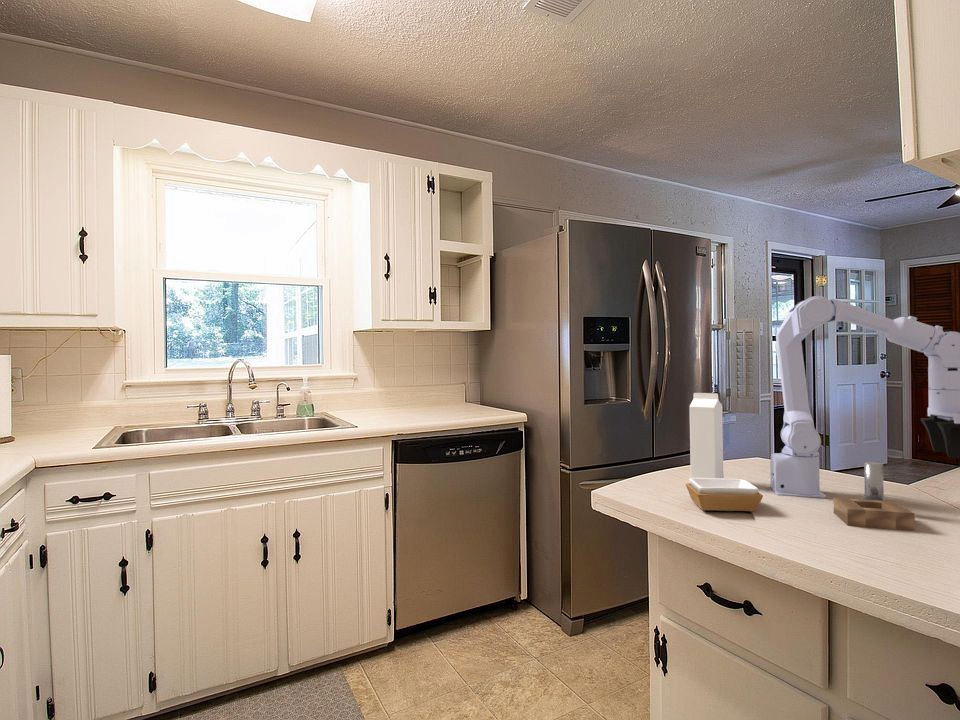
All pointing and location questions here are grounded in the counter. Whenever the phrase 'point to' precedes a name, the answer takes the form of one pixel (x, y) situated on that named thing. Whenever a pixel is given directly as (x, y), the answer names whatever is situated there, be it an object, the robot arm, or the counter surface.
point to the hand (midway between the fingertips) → (947, 454)
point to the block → (874, 513)
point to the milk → (706, 436)
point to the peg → (873, 481)
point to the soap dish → (724, 494)
